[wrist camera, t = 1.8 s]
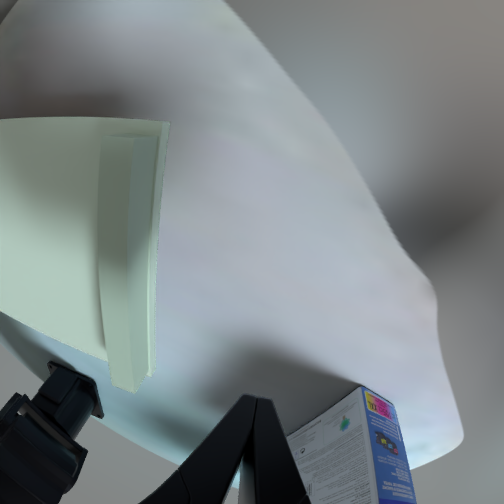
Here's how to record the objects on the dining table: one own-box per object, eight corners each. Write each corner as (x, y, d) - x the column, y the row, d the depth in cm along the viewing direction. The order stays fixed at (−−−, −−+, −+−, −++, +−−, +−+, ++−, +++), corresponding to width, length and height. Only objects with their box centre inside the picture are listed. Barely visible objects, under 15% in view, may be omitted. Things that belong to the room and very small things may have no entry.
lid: (155, 368, 17) (137, 401, 15) (-16, 293, 18) (-38, 309, 16) (170, 121, 12) (138, 121, 9) (-32, 122, 13) (-62, 128, 10)
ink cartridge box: (324, 454, 27) (319, 579, 13) (282, 437, 26) (264, 574, 13) (400, 406, 23) (427, 552, 9) (360, 383, 22) (377, 555, 9)
